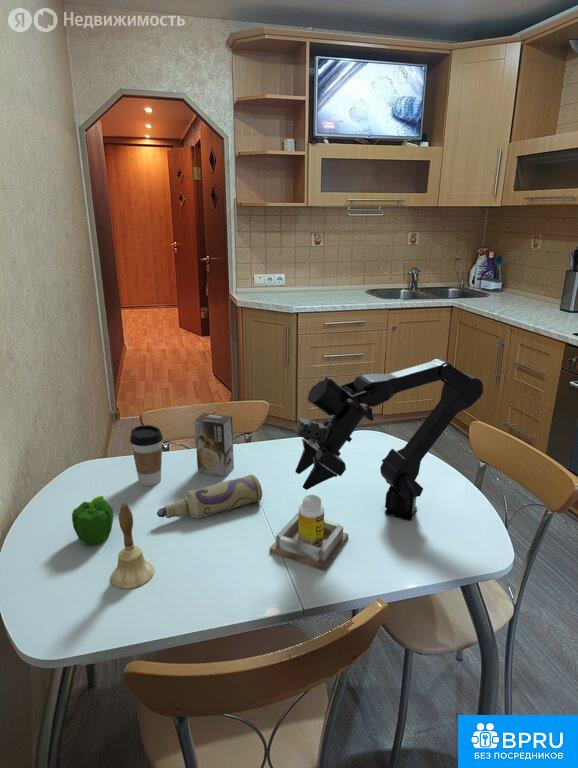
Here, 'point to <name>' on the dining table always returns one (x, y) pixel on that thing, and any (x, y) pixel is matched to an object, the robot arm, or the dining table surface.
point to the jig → (307, 553)
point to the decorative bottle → (215, 498)
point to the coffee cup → (147, 453)
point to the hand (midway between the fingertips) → (300, 480)
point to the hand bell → (130, 557)
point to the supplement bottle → (311, 521)
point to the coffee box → (214, 444)
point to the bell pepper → (93, 521)
